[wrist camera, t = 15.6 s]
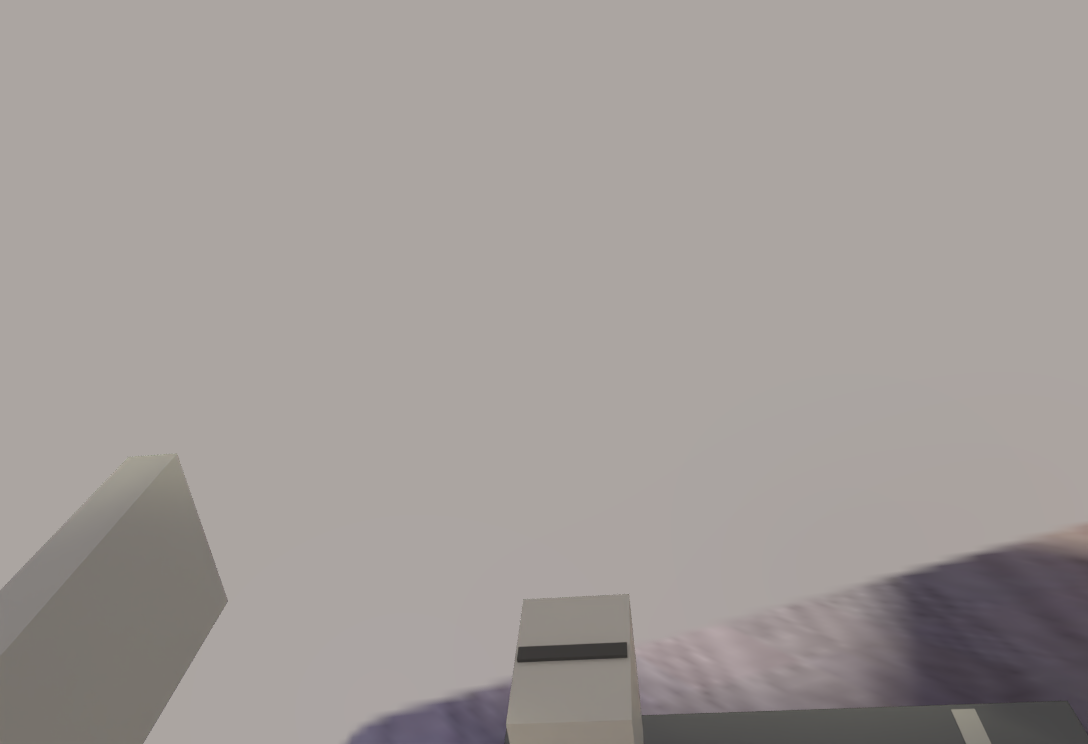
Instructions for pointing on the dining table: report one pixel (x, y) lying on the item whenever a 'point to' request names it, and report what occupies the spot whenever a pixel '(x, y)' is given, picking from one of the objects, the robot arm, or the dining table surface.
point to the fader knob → (575, 673)
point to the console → (875, 725)
